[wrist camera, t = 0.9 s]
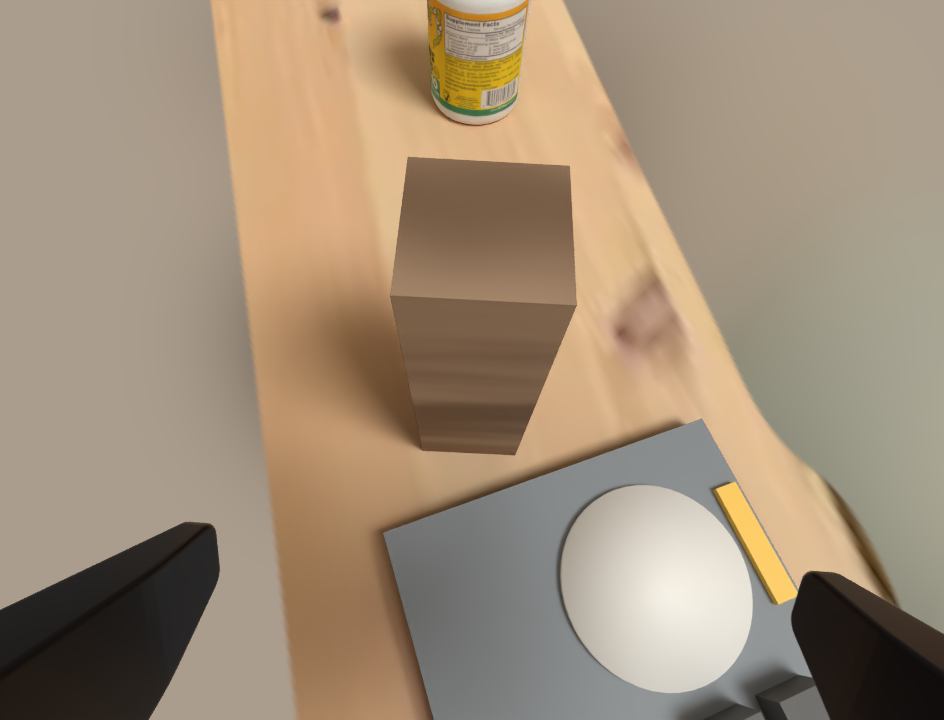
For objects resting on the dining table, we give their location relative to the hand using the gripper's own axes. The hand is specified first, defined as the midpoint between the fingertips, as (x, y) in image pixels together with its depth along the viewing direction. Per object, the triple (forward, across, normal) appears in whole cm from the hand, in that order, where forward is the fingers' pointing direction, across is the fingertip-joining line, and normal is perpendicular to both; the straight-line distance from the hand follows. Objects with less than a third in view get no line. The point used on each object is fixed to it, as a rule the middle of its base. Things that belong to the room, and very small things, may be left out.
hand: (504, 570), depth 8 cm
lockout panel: (+9, -5, +10) cm, 14 cm away
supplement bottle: (+29, +2, -11) cm, 31 cm away
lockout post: (+15, +1, +4) cm, 15 cm away
